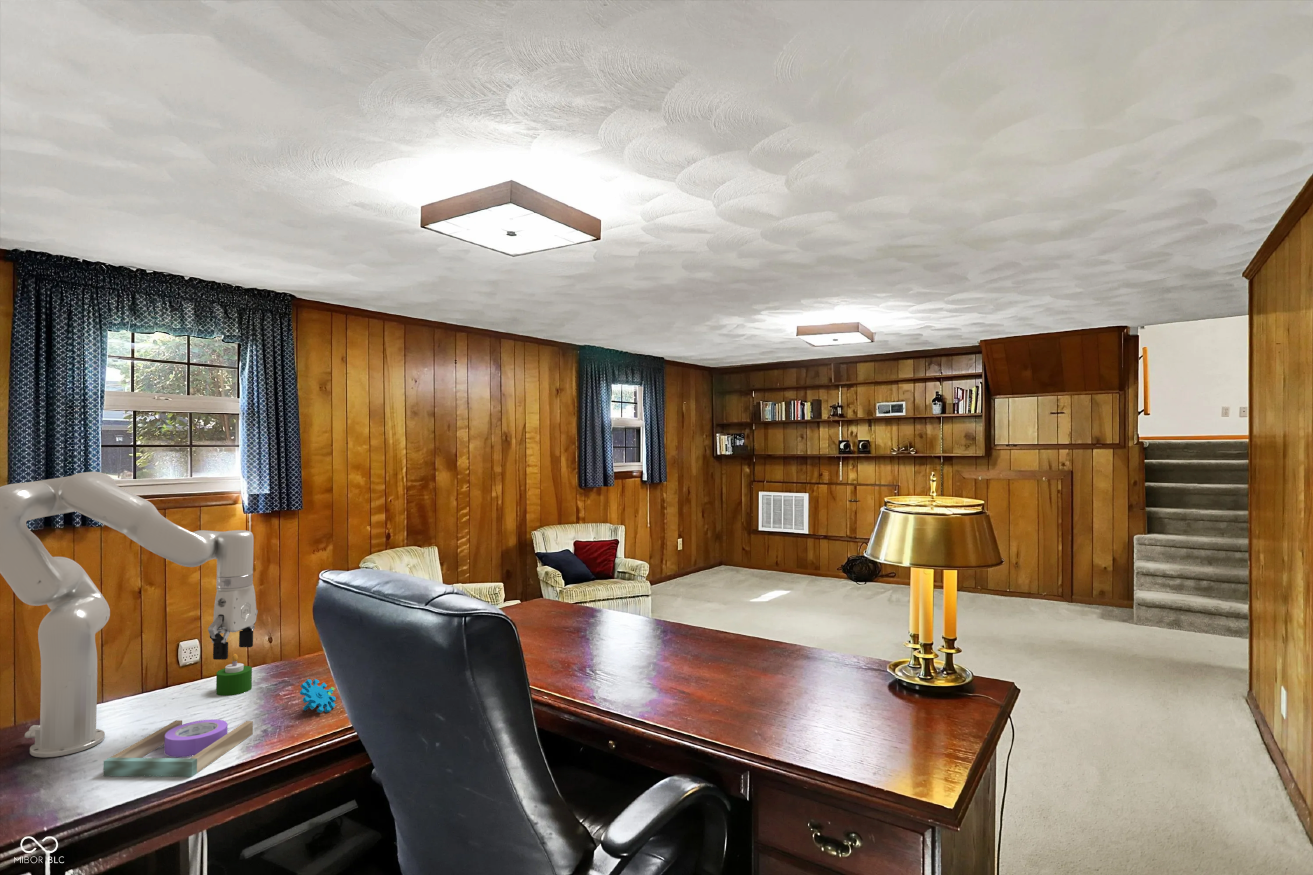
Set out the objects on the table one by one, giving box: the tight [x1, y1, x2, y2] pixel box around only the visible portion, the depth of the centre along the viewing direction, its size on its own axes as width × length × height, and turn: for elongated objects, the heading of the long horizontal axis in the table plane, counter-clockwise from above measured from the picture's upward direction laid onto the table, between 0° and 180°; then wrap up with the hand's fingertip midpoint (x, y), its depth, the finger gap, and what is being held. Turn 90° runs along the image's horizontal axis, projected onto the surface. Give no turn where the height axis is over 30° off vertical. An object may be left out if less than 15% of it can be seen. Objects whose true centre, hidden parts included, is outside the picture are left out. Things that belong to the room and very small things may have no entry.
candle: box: [215, 653, 253, 697], centre depth 186 cm, size 8×8×10 cm
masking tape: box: [163, 718, 228, 758], centre depth 152 cm, size 12×12×4 cm
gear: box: [299, 678, 337, 714], centre depth 173 cm, size 11×6×10 cm
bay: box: [102, 719, 254, 778], centre depth 148 cm, size 18×20×3 cm
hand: (233, 652), depth 164 cm, fingers open, 9 cm apart
